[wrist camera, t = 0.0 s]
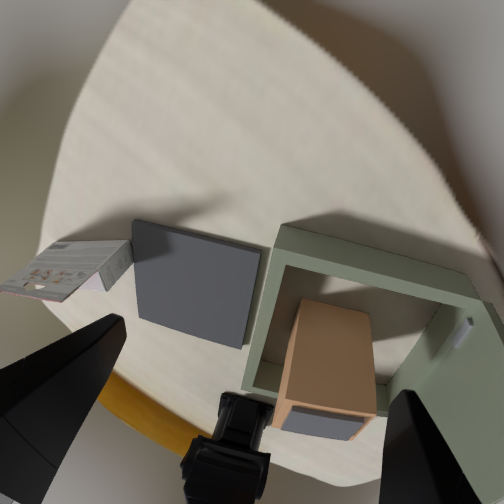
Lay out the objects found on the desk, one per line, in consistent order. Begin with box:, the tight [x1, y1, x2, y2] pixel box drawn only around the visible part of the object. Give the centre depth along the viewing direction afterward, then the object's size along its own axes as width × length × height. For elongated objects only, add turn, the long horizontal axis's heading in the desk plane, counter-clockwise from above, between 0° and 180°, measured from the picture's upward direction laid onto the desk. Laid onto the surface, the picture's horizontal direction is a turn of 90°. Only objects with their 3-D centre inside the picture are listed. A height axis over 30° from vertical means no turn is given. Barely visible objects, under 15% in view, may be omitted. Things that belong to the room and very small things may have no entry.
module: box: [271, 298, 377, 441], centre depth 22 cm, size 4×6×10 cm, turn 81°
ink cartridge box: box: [0, 240, 134, 302], centre depth 24 cm, size 2×11×10 cm, turn 97°
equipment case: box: [241, 225, 504, 504], centre depth 18 cm, size 16×17×18 cm
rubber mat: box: [132, 219, 262, 350], centre depth 27 cm, size 11×11×1 cm
